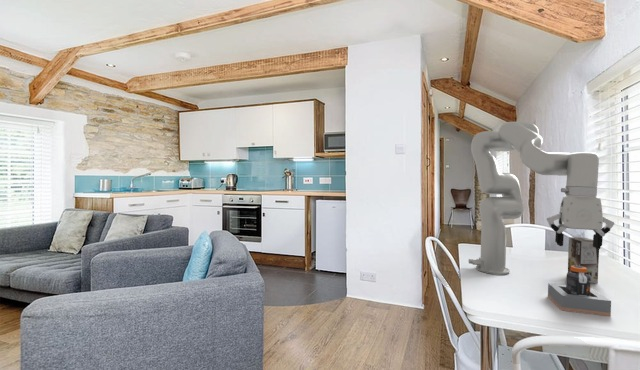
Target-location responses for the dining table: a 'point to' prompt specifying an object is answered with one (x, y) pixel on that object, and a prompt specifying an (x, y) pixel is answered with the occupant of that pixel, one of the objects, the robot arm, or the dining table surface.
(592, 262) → the coffee box
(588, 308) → the grey square frame
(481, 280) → the dining table surface
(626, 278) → the dining table surface
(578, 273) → the pill bottle
